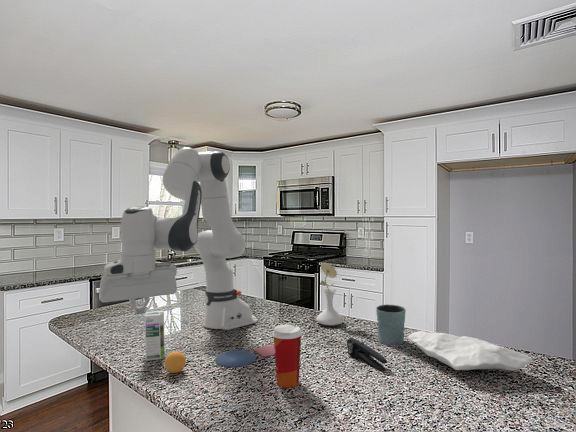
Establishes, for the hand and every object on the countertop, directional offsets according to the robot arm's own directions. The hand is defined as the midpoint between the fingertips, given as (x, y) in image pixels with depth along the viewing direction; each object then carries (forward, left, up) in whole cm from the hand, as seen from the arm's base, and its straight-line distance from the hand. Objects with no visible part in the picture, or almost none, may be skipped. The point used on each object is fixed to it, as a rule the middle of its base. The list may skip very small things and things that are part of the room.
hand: (139, 313), depth 105 cm
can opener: (-63, +23, -19) cm, 70 cm away
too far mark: (-41, 0, -19) cm, 45 cm away
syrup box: (-7, -15, -19) cm, 25 cm away
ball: (-10, 0, -16) cm, 18 cm away
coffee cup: (-35, +23, -19) cm, 46 cm away
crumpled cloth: (-85, +41, -19) cm, 96 cm away
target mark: (-29, 0, -19) cm, 34 cm away
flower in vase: (-76, -14, -19) cm, 79 cm away
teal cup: (-82, +15, -19) cm, 85 cm away
